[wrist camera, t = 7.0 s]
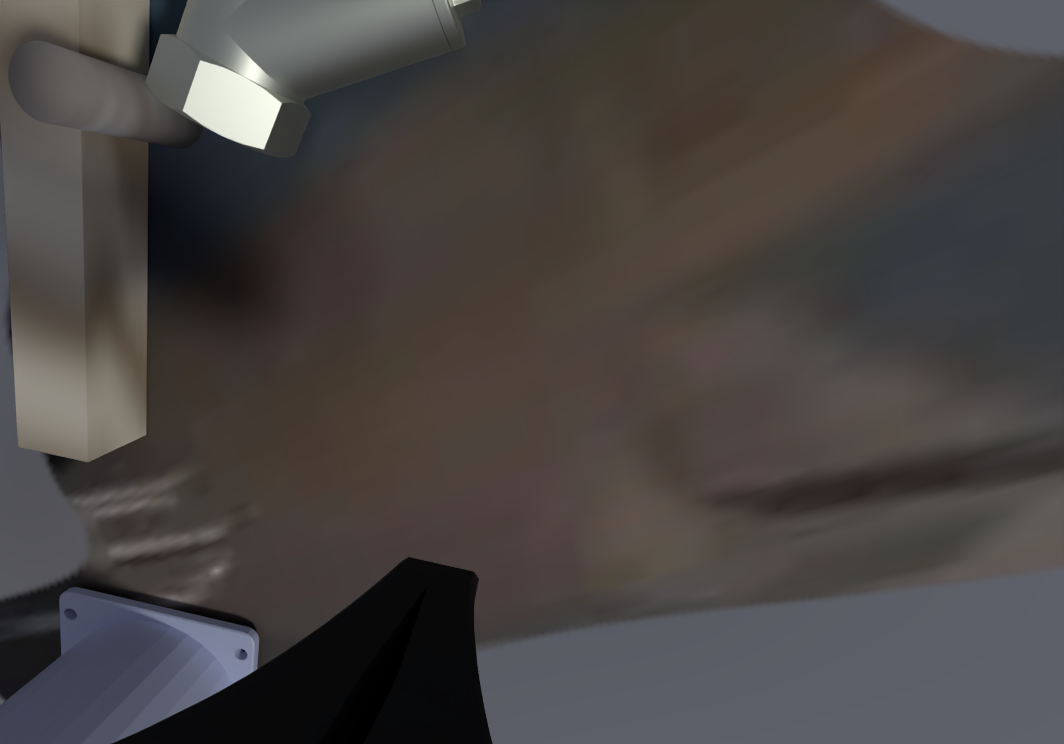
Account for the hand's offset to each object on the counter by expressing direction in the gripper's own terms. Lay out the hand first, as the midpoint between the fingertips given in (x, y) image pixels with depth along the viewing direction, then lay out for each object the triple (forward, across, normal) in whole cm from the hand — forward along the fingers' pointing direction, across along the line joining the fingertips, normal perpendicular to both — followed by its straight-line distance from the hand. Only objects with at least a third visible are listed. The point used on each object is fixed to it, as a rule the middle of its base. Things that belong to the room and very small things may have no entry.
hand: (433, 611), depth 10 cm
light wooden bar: (+9, +13, -8) cm, 18 cm away
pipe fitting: (+10, +6, -11) cm, 16 cm away
